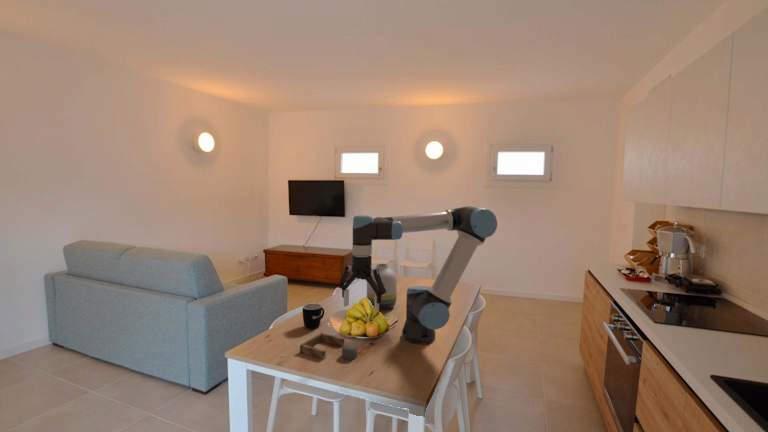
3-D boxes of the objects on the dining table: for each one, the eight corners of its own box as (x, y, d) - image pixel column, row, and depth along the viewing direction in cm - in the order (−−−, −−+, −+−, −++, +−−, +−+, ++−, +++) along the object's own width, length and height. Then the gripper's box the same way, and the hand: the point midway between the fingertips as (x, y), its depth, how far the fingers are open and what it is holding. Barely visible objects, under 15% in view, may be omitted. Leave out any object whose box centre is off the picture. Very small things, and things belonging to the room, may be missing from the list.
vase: (391, 313, 192) (392, 269, 190) (361, 309, 197) (362, 266, 195) (400, 303, 208) (401, 263, 206) (372, 300, 213) (373, 260, 211)
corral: (344, 345, 152) (344, 338, 152) (323, 359, 140) (323, 351, 139) (321, 339, 158) (321, 332, 158) (300, 352, 145) (300, 345, 145)
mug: (311, 332, 165) (311, 310, 164) (298, 327, 171) (298, 306, 170) (330, 324, 175) (330, 304, 174) (317, 320, 180) (317, 300, 179)
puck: (360, 355, 144) (360, 346, 144) (351, 361, 139) (352, 352, 138) (347, 351, 147) (347, 343, 146) (339, 357, 141) (339, 349, 141)
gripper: (395, 256, 138) (394, 310, 139) (339, 250, 148) (339, 300, 150) (387, 260, 131) (386, 316, 132) (329, 253, 141) (329, 306, 143)
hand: (361, 308), depth 141 cm, fingers open, 13 cm apart
